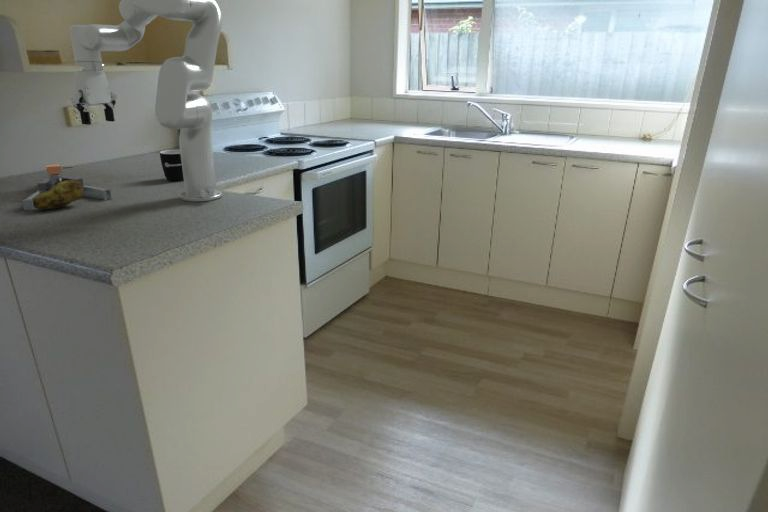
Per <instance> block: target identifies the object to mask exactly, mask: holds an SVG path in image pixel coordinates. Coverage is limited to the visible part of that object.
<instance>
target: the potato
mask: <svg viewBox="0 0 768 512" xmlns="http://www.w3.org/2000/svg"><path fill="white" fill-rule="evenodd" d="M83 185H84V184H83ZM83 185H82V184H81V183H80V182H78V181H75V180H66V181H62V182H60V183H58V184H56V185H55V186H53V187H52V188H51V189H50V190H49V191H46V192H43V193H41V194H39V195H38V196H36V197H35V198H34V199H33V206H34V207H35V209H37V210H40V211H46V210H54V209H60V208H64V207H65V206H66V207H67V206H68V205H70V204H72V203H73V202H77V201H78V200H81V199H83V197H84V196H82V195H83V190H84V187H83Z"/></svg>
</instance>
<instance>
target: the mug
mask: <svg viewBox="0 0 768 512" xmlns="http://www.w3.org/2000/svg"><path fill="white" fill-rule="evenodd" d="M159 158H160V162H161V167H162V170H163V174H164V176H165V178H166V180H167V182H171V183H173V182H184V178H183V170H182V162H181V154H180V149H165V150H162V151H160V152H159Z"/></svg>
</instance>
